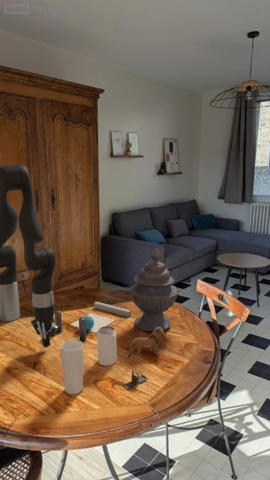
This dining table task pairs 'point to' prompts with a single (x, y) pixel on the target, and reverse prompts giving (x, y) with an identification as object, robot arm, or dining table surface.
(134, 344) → the lion figurine
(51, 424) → the dining table surface
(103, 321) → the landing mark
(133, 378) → the strap clip
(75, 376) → the drinking glass
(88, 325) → the ball
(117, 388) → the dining table surface
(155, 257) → the decorative urn
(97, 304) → the wall
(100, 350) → the can
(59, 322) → the post left
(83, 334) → the post right
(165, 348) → the dining table surface
